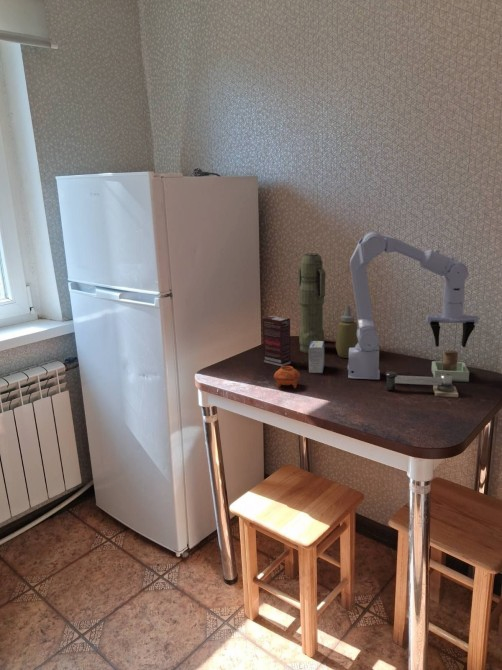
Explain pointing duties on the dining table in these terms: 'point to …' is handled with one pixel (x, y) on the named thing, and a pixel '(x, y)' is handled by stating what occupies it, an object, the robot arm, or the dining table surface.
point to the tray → (458, 375)
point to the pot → (287, 376)
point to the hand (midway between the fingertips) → (450, 346)
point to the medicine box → (316, 357)
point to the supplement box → (276, 340)
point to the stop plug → (450, 360)
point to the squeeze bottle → (346, 334)
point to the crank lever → (417, 380)
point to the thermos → (311, 300)
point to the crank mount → (445, 391)
